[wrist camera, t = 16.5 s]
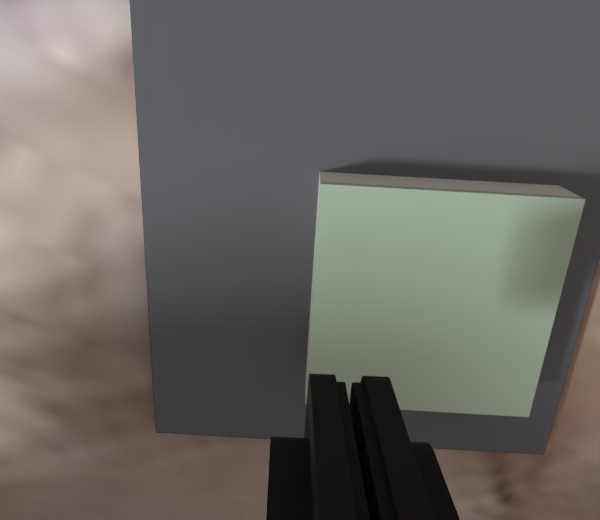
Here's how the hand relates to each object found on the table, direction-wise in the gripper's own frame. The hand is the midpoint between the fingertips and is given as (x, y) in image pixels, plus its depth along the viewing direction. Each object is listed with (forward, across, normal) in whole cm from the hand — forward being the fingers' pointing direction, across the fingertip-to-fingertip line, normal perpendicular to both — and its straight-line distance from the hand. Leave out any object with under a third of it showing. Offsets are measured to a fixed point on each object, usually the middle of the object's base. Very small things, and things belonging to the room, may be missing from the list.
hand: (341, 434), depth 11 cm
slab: (+7, -4, +4) cm, 9 cm away
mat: (+9, -2, -4) cm, 10 cm away
